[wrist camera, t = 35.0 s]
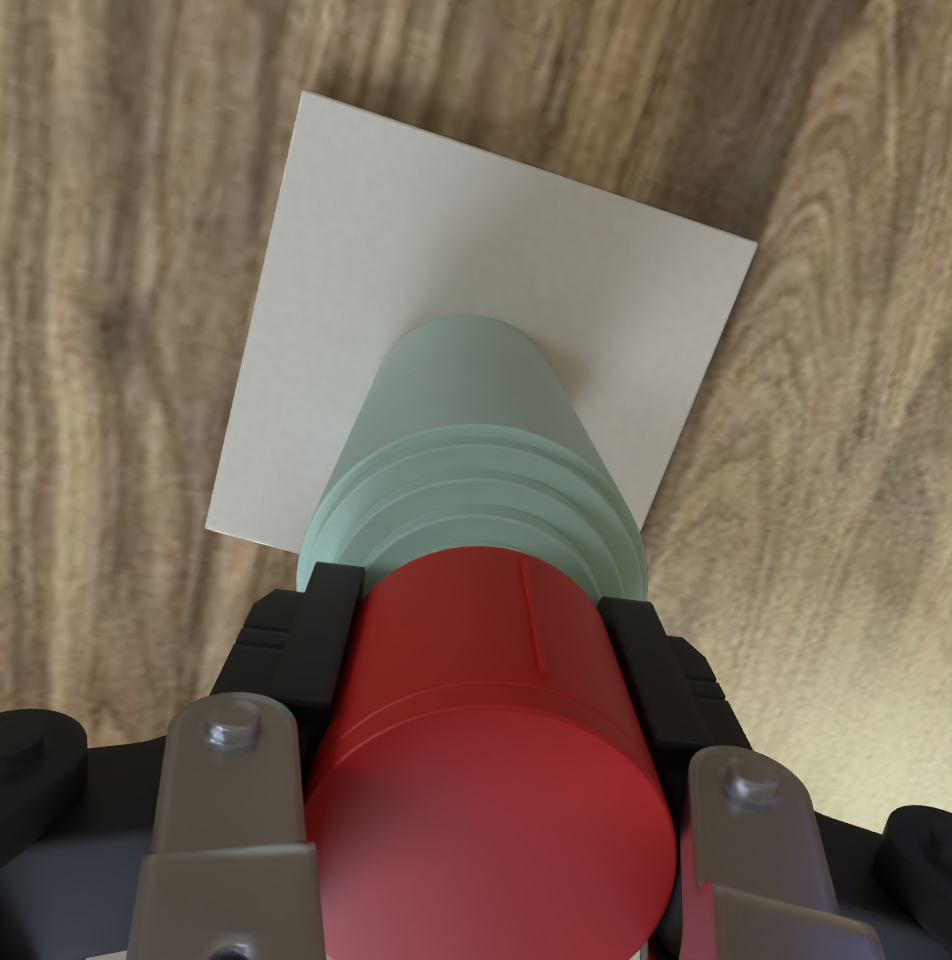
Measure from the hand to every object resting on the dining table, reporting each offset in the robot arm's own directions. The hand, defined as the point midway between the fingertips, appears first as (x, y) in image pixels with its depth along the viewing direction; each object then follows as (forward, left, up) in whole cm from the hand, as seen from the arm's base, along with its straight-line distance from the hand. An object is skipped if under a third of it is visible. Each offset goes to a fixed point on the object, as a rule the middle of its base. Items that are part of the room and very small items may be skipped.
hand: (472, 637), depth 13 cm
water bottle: (0, 0, -15) cm, 15 cm away
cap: (0, 0, +1) cm, 1 cm away
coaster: (0, 0, -15) cm, 15 cm away
